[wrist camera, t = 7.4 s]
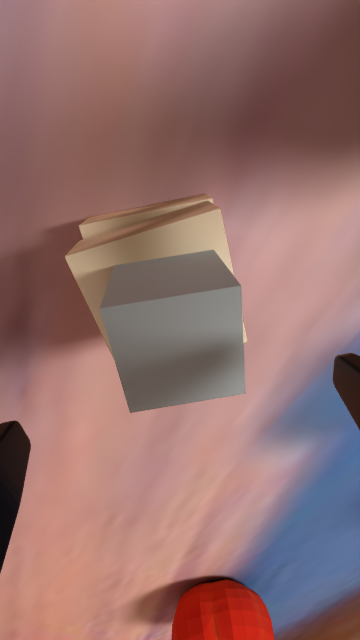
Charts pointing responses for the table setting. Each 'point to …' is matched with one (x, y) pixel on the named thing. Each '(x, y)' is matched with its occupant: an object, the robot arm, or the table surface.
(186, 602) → the tomato
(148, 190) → the table surface
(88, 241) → the slab upper
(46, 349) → the table surface
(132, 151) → the table surface
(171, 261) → the cube
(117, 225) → the slab lower
